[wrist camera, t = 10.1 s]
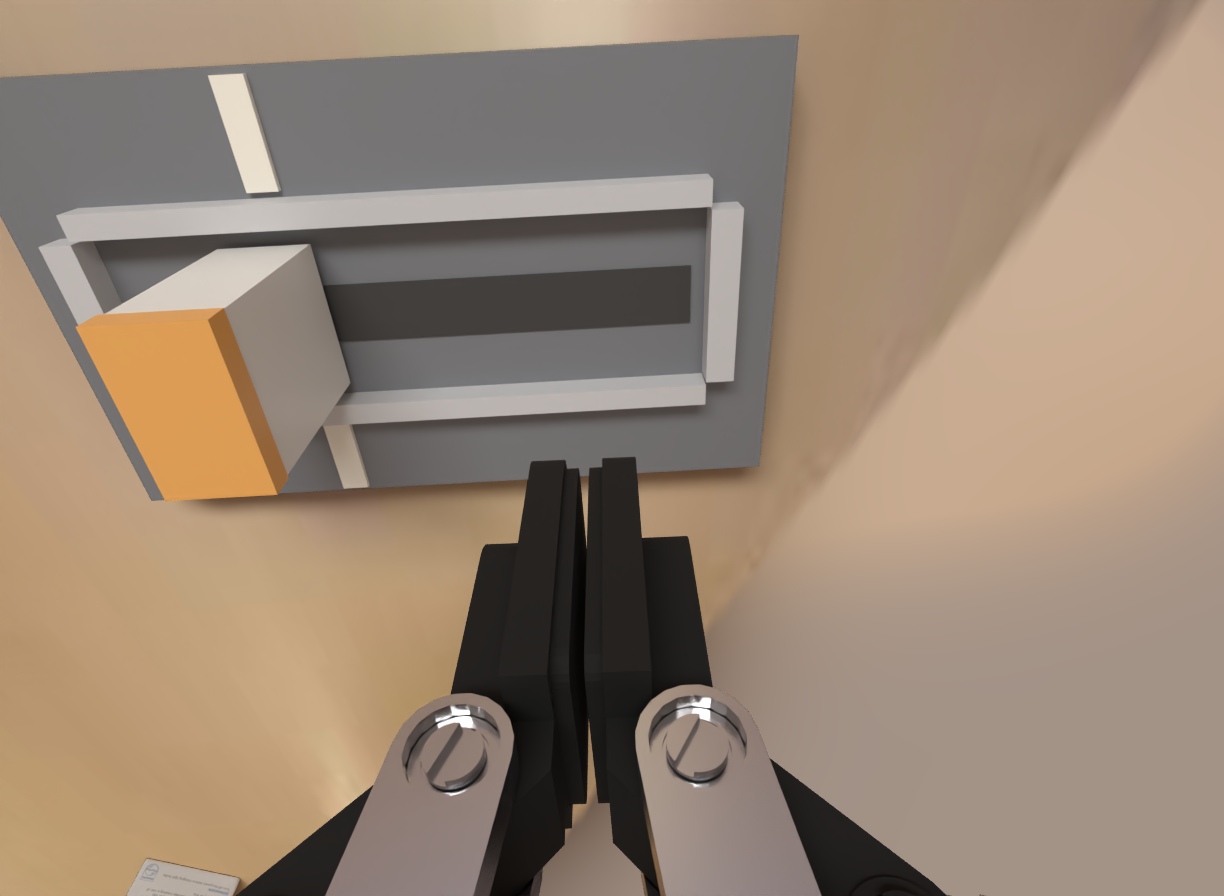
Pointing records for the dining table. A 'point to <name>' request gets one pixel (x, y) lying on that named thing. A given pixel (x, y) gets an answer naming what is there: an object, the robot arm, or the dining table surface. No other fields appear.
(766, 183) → the board
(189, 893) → the light bulb box
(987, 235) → the dining table surface
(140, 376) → the fader knob
